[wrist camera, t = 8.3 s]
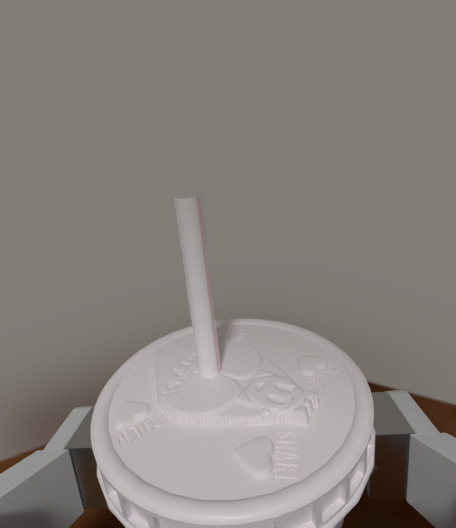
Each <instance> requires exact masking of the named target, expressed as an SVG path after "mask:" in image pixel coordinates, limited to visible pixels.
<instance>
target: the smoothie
mask: <svg viewBox="0 0 456 528" xmlns="http://www.w3.org/2000/svg"><path fill="white" fill-rule="evenodd" d="M174 205H175V212H176V219H177V226H178V232H179V239H180V246H181V252H182V260H183V267H184V274H185V281H186V287H187V294H188V301H189V308H190V315H191V322H192V326H190V327H187V328H184V329H181V330H179V331H176V332H173V333H171V334H168V335H166V336H164V337H162V338H160V339H158V340H156V341H154V342H152V343H151V344H149V345H148V346H146V347H145V348H143V349H141V350H140V351H138V352H137V353H136V354H135V355H133V356H132V357H131V358H130V359H128V360H127V361H126V362H125V363H124V364H123V365H122V366H121V367H120V368H119V369H118V370H117V371H116V372H115V373H114V375H113V376H112V377H111V378H110V380H109V381H108V382H107V384H106V385H105V387H104V388H103V390H102V392H101V394H100V396H99V398H98V400H97V403H96V405H95V408H94V411H93V415H92V421H91V443H92V449H93V453H94V456H95V459H96V463H97V478H98V481H99V483H100V486H101V489H102V491H103V494H104V497H105V500H106V502H107V505H108V508H109V510H110V511H111V512H112V513H113V514H114V515H115V516H116V517H117V519H118V520H119V521H120V522H121V523H122V524H123V525H124V526H125V527H126V528H341V527H342V524H343V521H344V517H345V516H346V515H347V514H348V513H349V511H350V510H351V509H352V508H353V507H354V506H355V505H356V504H357V503H358V502H359V500H360V497H361V495H362V493H363V491H364V488H365V486H366V484H367V481H368V479H369V477H370V474H371V472H372V470H373V467H374V455H375V429H374V426H373V420H374V406H373V398H372V395H371V391H370V388H369V385H368V383H367V380H366V378H365V377H364V375H363V373H362V372H361V370H360V369H359V367H358V366H357V365H356V363H355V362H354V361H353V360H352V359H351V358H350V357H349V356H348V355H347V354H346V353H345V352H344V351H343V350H341V349H340V348H339V347H337V346H336V345H335V344H334V343H332V342H330V341H329V340H327V339H325V338H323V337H322V336H320V335H318V334H316V333H313V332H311V331H309V330H306V329H304V328H301V327H299V326H294V325H291V324H287V323H283V322H278V321H271V320H265V319H247V318H244V319H225V320H218V321H216V320H215V312H214V304H213V295H212V287H211V278H210V270H209V263H208V254H207V245H206V236H205V228H204V219H203V211H202V202H201V195H198V194H196V195H184V196H178V197H175V198H174Z"/></svg>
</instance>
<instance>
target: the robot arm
mask: <svg viewBox="0 0 456 528" xmlns="http://www.w3.org/2000/svg"><path fill="white" fill-rule="evenodd" d="M371 395H372V398H373V406H374V420H373V426H374V429H375V455H374V467H373V470H372V472H371V474H370V477H369V479H368V481H367V484H366V486H365V489H366V491H367V494H368V496H369V499H407V500H406V501H407V502H408V503H409V504H410V505H411V506H412V507H414V508H415V509H416V510H417V511H418V512H419V513H420V514H421V515H422V516H423V517H424V518H425V519H427V520H428V521H429V522H430V523H431V524H432V525H433V526H434V527H435V528H456V438H455V437H453V436H451V435H449V434H447V433H439V431H438V430H437V429H436V428H435V426H434V425H433V424H432V423H431V421H430V420H429V419H428V418H427V416H426V415H425V414H424V412H423V411H422V410H421V409H420V407H419V406H418V405H417V404H416V402H415V401H414V400H413V399H412V397H411V396H410V395H409V393H408V392H407V391H405V390H395V391H385V392H377V393H371ZM94 408H95V407H93V406H88V407H77V408H75V409H73V410H72V412H71V413H70V415H69V416H68V417H67V419H66V420H65V421H64V423H63V424H62V425H61V427H60V428H59V429H58V431H57V432H56V433H55V435H54V436H53V438H52V439H51V440H50V442H49V443H48V444H47V446H46V447H45V448H44V450H42V451H36V452H35V453H33V454H31V455H30V456H28V457H27V458H25V459H24V460H22V461H20V462H19V463H17V464H16V465H14V466H13V467H11V468H9V469H8V470H6V471H5V472H3V473H2V474H0V528H69V527H70V526H71V525H72V524H73V522H74V521H75V520H76V519H77V518H78V517H79V516H80V515H81V514H82V513H83V512H84V509H96V508H108V505H107V502H106V500H105V497H104V494H103V491H102V489H101V486H100V483H99V481H98V478H97V463H96V459H95V456H94V453H93V449H92V443H91V421H92V415H93V411H94Z"/></svg>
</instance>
